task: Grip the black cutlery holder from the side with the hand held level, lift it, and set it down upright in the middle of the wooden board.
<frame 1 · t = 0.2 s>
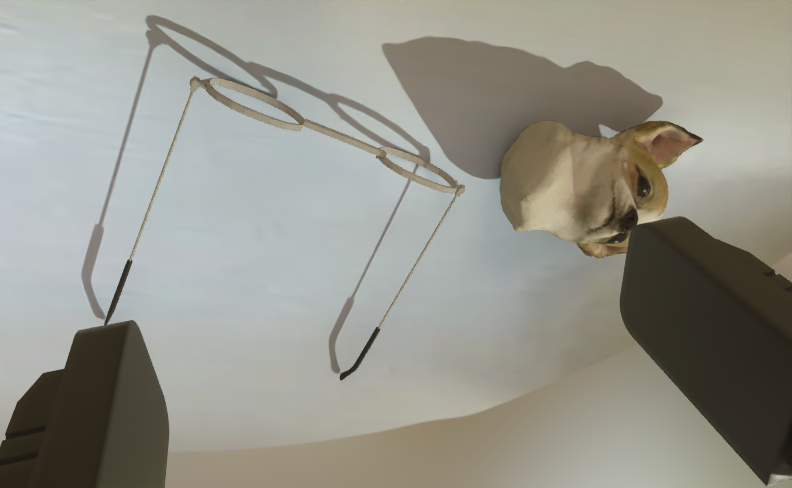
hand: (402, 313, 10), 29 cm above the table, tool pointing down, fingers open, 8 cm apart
eyeglasses: (281, 243, 42), on the table
ceramic sculpture: (570, 168, 45), on the table
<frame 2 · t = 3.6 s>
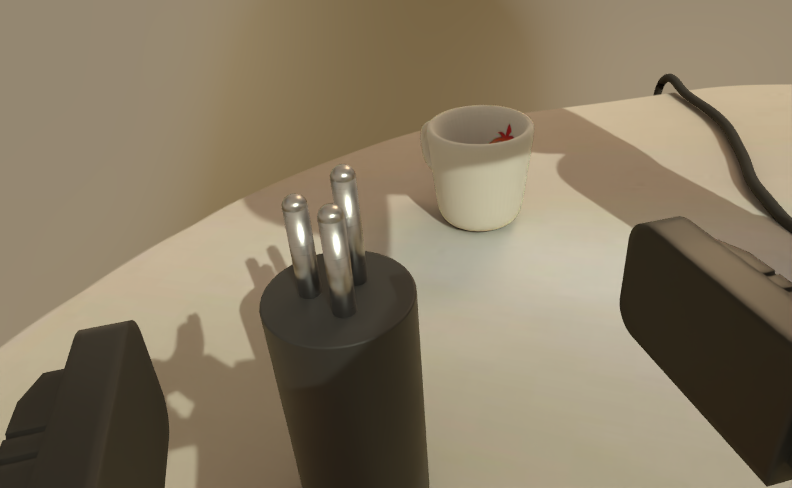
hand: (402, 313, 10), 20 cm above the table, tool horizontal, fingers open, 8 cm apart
cup: (467, 211, 52), on the table
cutlery holder: (367, 487, 30), on the table
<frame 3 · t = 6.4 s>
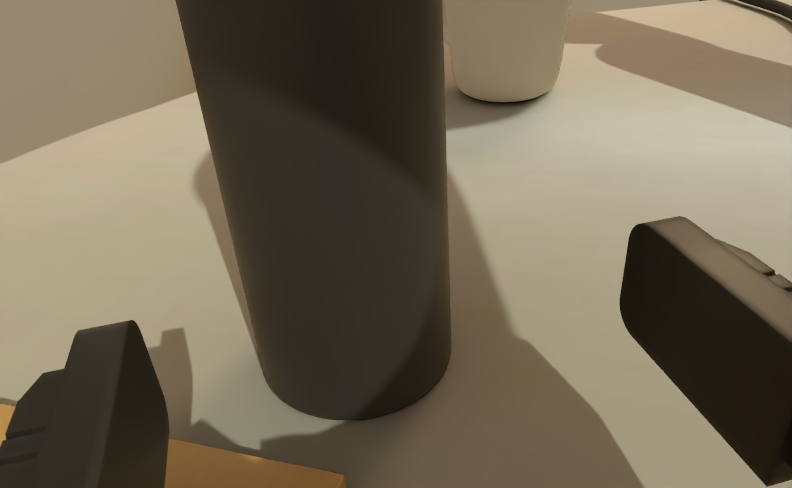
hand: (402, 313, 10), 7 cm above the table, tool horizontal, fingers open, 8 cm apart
cup: (490, 89, 42), on the table
cutlery holder: (357, 349, 20), on the table
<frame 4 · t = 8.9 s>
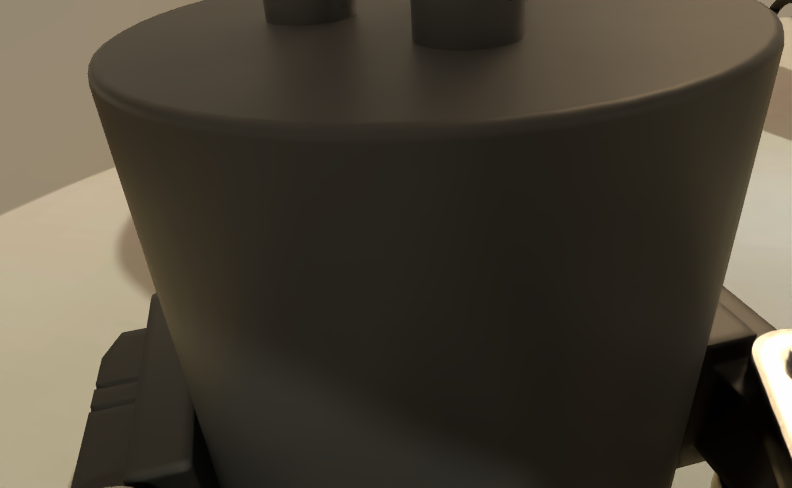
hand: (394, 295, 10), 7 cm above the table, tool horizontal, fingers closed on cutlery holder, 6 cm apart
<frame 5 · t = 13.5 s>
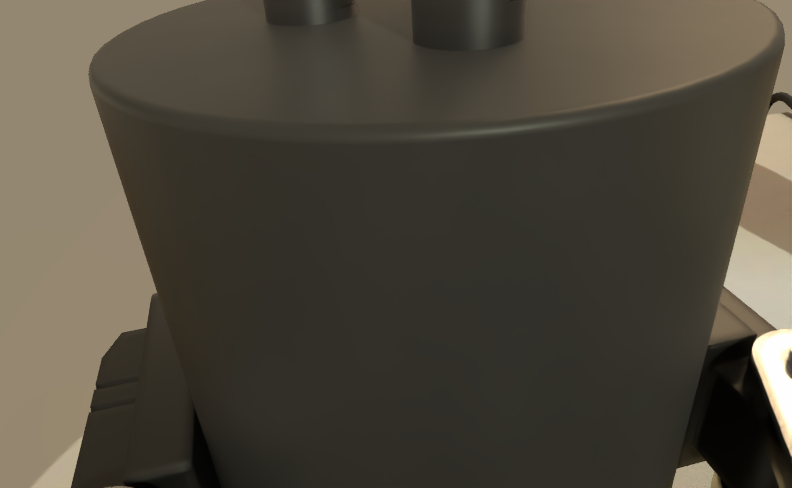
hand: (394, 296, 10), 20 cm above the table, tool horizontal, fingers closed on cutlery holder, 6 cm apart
when the fingers open (8 cm above the table, at t = 18.0 s): cutlery holder stays where it is, resting on wooden board.
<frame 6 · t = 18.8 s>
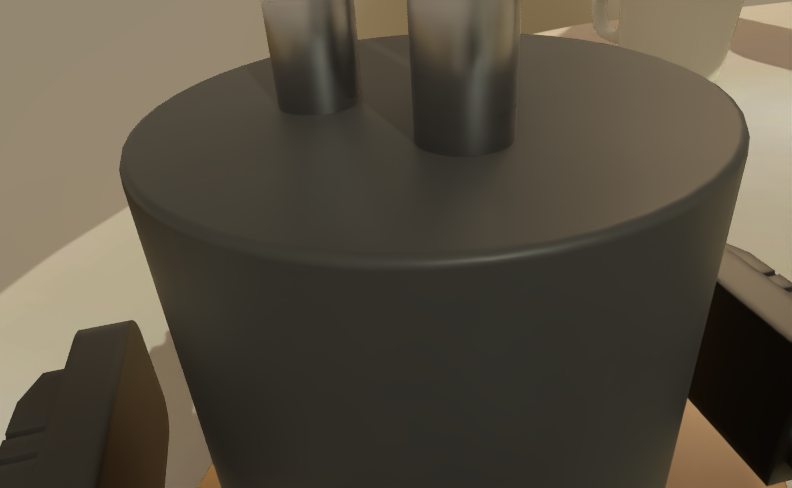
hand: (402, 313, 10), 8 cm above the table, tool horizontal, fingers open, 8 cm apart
cup: (648, 82, 46), on the table
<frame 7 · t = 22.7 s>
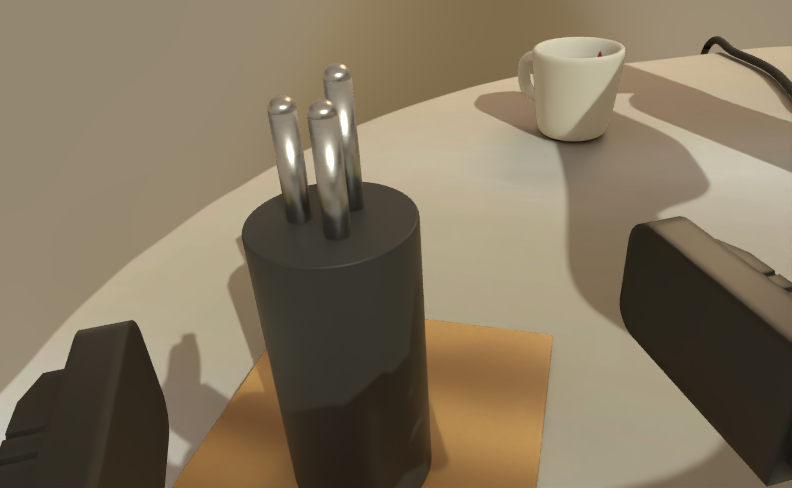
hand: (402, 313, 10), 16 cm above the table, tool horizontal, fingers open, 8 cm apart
wooden board: (363, 465, 28), on the table
cup: (559, 130, 60), on the table
cutlery holder: (363, 458, 27), point 1 cm above the table, touching wooden board
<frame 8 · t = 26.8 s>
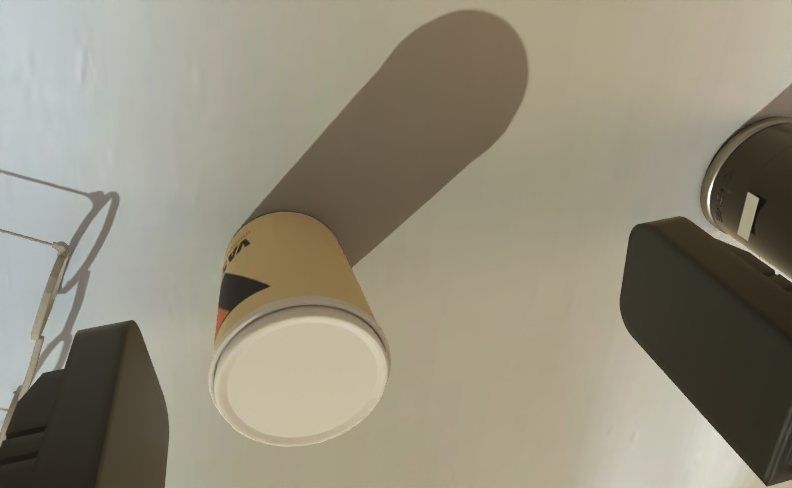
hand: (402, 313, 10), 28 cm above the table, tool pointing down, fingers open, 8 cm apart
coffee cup: (283, 260, 42), on the table
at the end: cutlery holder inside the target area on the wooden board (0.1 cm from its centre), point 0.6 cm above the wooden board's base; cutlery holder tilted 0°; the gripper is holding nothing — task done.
